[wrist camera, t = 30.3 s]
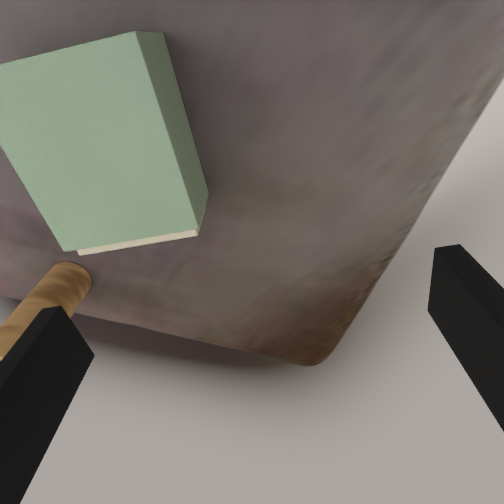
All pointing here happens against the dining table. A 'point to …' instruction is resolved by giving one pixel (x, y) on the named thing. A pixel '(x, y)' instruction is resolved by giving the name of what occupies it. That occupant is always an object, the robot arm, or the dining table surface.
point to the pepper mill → (46, 300)
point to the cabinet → (103, 140)
